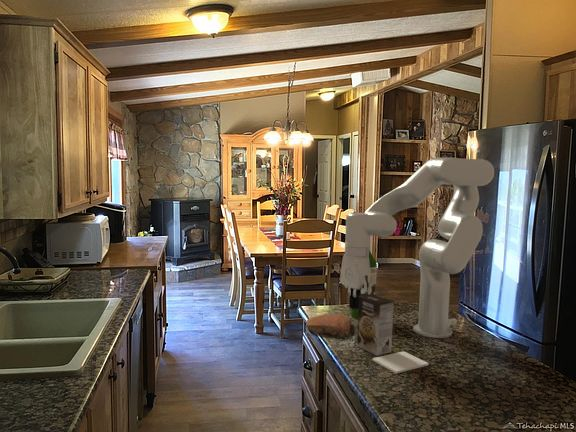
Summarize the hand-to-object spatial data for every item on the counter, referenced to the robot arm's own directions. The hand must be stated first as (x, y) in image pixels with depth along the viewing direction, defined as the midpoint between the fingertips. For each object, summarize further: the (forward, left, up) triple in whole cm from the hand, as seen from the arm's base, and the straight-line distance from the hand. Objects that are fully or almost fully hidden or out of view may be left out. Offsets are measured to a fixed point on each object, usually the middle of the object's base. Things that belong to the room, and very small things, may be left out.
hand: (354, 308), depth 156 cm
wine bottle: (-18, -18, -10) cm, 28 cm away
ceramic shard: (+1, -12, -11) cm, 16 cm away
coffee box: (0, +10, -11) cm, 14 cm away
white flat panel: (0, +22, -10) cm, 24 cm away
